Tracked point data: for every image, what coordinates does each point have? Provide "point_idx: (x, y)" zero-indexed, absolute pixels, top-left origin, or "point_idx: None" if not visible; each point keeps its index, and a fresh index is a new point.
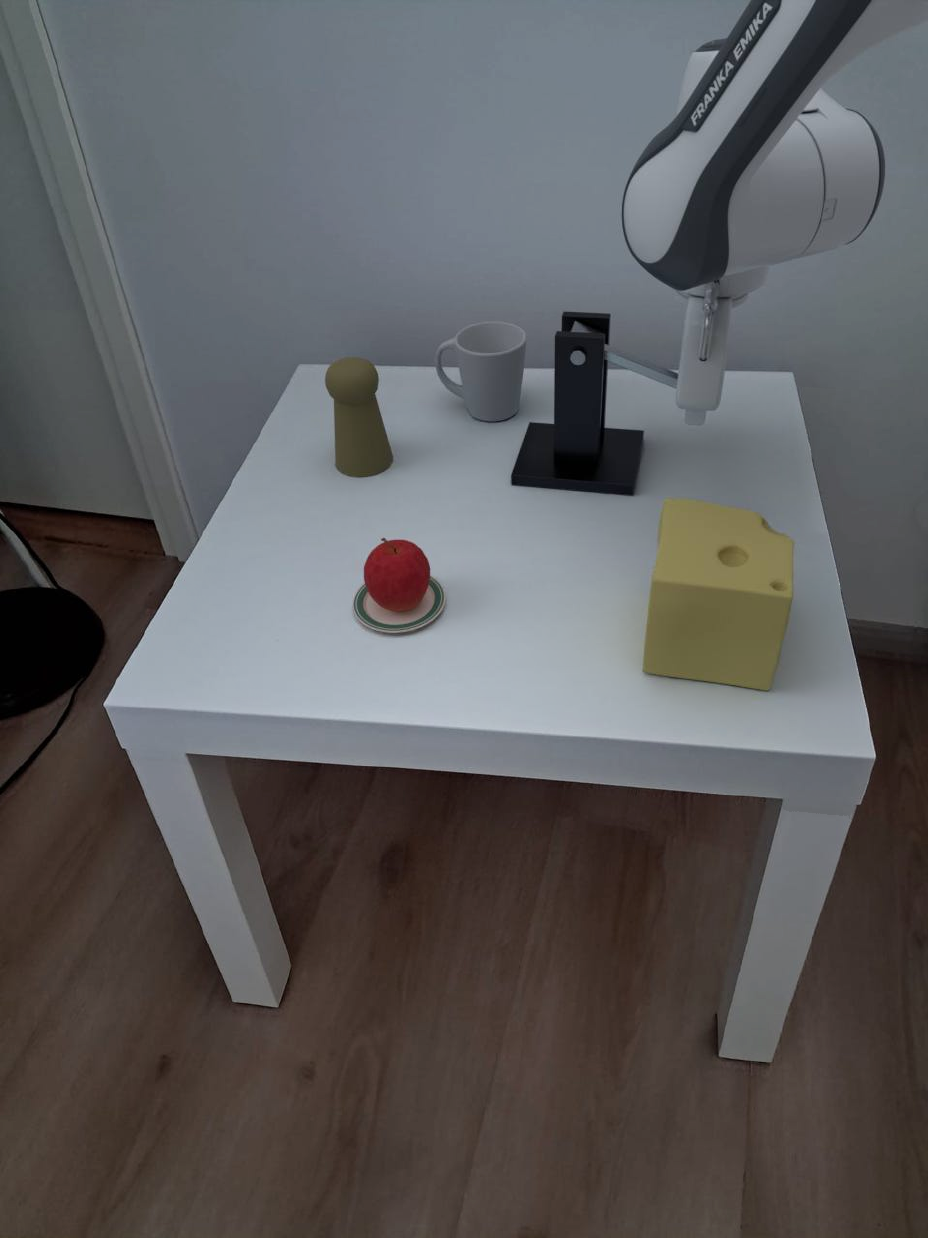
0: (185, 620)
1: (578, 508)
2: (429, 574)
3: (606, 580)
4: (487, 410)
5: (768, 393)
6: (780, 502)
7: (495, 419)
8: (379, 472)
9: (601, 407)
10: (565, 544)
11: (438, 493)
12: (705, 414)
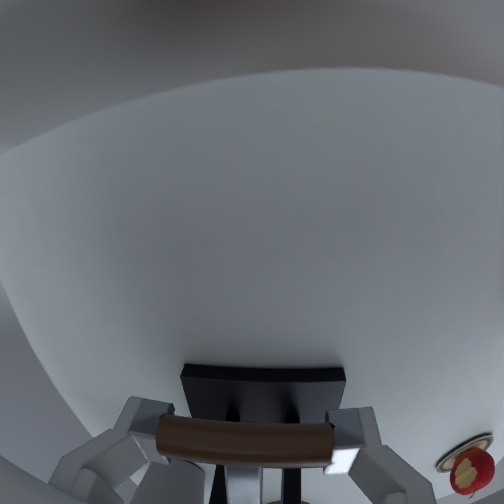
0: (439, 496)
1: None
2: (482, 463)
3: (491, 356)
4: (203, 484)
5: (6, 183)
6: (345, 126)
7: (201, 471)
8: (304, 502)
9: (286, 499)
10: (431, 402)
11: (333, 481)
12: (377, 428)
